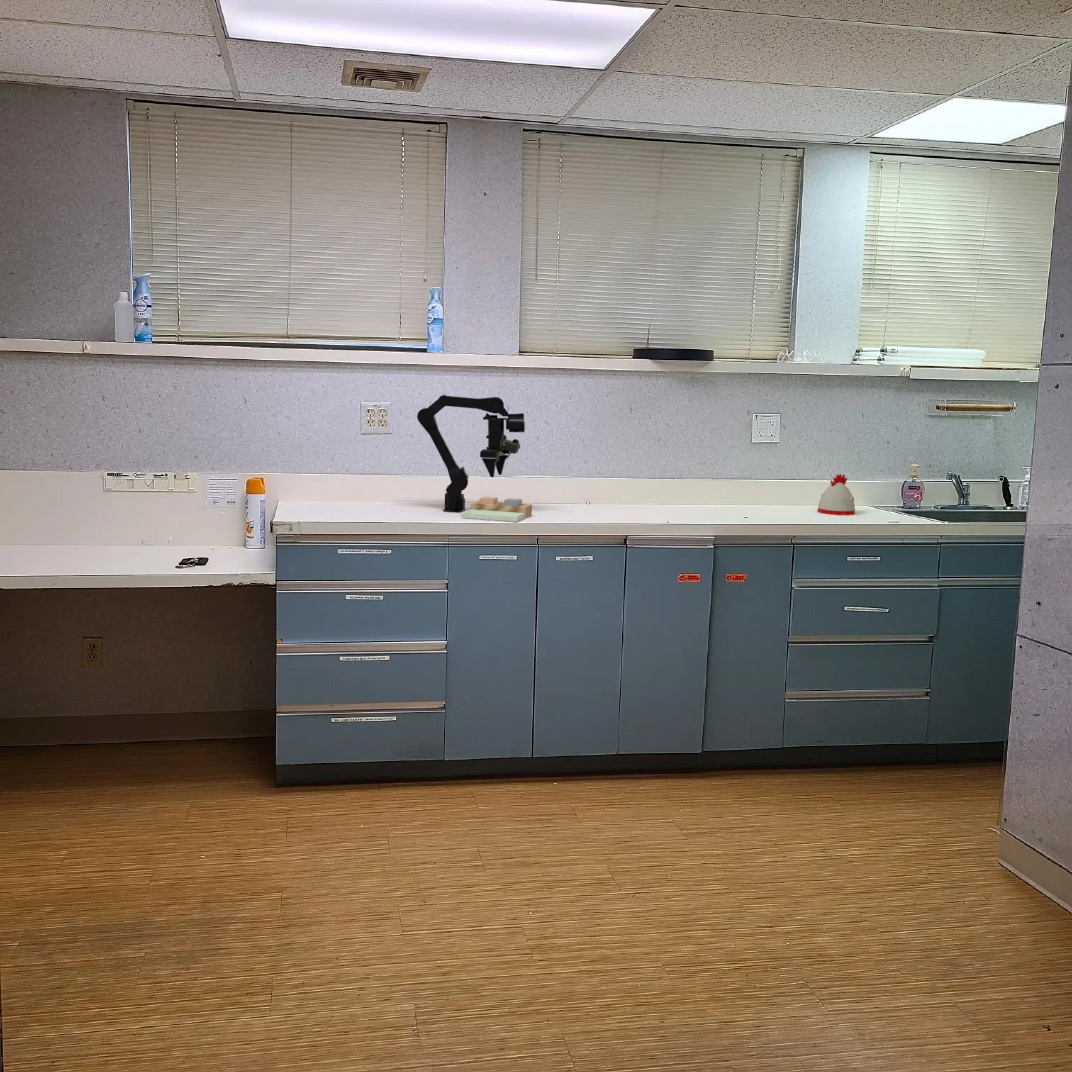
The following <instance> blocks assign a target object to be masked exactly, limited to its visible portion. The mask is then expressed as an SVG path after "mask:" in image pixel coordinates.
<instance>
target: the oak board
mask: <svg viewBox="0 0 1072 1072" xmlns="http://www.w3.org/2000/svg"><path fill="white" fill-rule="evenodd" d="M532 506H533V504H529V503H522V505H520V506H505V505H504V501H503V502H502V501H501V502H500V501H498V503H496V504H494V505H491V504H480V500H477V501H474V502H472V503H470V509H473V510H487V511H501V512H516V513H525V519H527V518H529V517H531V516H532V514H533V513H532V510H533V509H532V508H533V507H532Z"/></svg>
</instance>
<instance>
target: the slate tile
mask: <svg viewBox="0 0 1072 1072" xmlns="http://www.w3.org/2000/svg"><path fill="white" fill-rule="evenodd" d="M503 500H504V501H503V502H504V505H505V506H520V505H522V504H523V499H522V498H513V497H509V498H505V499H503Z"/></svg>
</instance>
